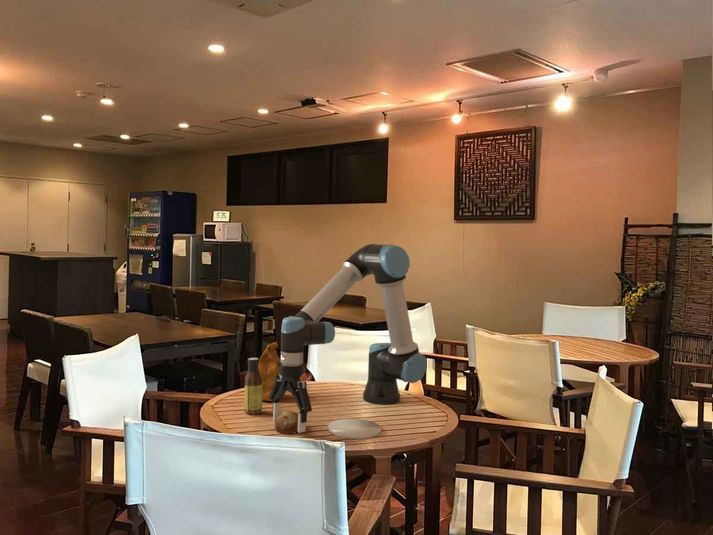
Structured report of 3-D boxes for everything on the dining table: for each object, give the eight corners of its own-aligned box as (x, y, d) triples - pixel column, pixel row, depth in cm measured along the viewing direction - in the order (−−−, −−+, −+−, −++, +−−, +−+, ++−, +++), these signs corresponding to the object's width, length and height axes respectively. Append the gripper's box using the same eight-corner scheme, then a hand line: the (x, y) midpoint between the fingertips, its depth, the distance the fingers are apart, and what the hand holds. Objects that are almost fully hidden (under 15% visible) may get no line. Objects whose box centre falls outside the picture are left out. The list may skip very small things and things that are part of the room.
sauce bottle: (265, 412, 220) (267, 358, 219) (255, 416, 214) (257, 361, 213) (250, 409, 222) (252, 356, 222) (240, 413, 217) (242, 358, 216)
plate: (355, 419, 215) (355, 415, 215) (392, 432, 202) (392, 428, 202) (317, 428, 203) (317, 425, 203) (353, 443, 190) (353, 439, 190)
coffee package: (286, 396, 243) (288, 342, 242) (276, 404, 231) (278, 347, 230) (263, 393, 245) (265, 340, 244) (252, 401, 233) (253, 345, 232)
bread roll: (280, 435, 206) (271, 414, 205) (307, 423, 207) (298, 402, 206) (279, 445, 196) (269, 423, 195) (307, 432, 197) (298, 410, 196)
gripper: (260, 358, 206) (258, 419, 207) (306, 372, 188) (303, 438, 189) (278, 356, 212) (275, 415, 212) (324, 369, 194) (321, 434, 194)
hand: (288, 426), depth 201 cm, fingers open, 13 cm apart
